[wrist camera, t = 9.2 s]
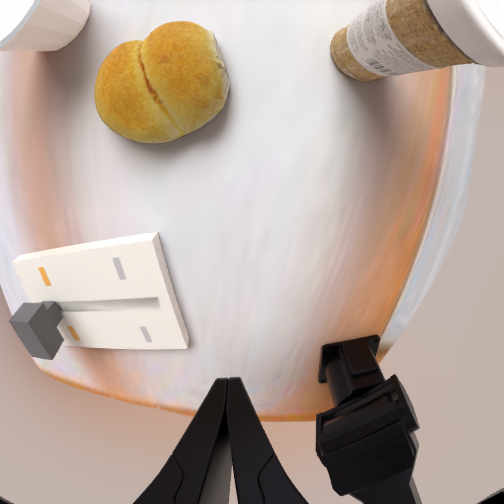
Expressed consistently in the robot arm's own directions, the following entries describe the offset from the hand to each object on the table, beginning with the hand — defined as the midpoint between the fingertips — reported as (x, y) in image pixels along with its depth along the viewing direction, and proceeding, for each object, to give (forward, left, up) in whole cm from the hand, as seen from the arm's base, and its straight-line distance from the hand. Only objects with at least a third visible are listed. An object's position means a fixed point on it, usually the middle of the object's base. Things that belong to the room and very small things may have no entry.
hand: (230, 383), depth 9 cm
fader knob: (-5, +19, -11) cm, 23 cm away
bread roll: (+12, +3, -14) cm, 18 cm away
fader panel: (-5, +14, -13) cm, 20 cm away
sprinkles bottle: (+13, -10, -13) cm, 21 cm away
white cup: (+21, +12, -13) cm, 28 cm away
